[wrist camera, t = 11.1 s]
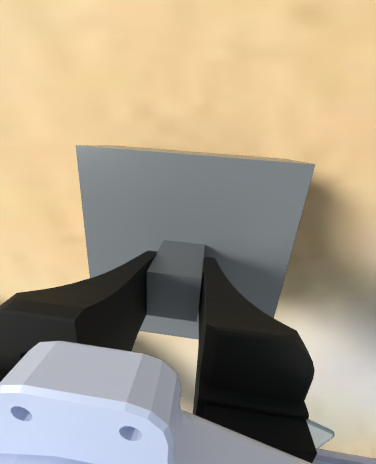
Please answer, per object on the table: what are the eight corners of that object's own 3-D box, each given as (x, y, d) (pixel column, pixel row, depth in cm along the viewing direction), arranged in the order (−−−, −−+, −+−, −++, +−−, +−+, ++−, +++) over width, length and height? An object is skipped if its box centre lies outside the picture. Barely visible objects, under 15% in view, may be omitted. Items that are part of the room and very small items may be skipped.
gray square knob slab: (253, 302, 19) (279, 405, 12) (121, 285, 20) (64, 370, 13) (285, 159, 15) (359, 172, 7) (114, 145, 16) (21, 145, 8)
